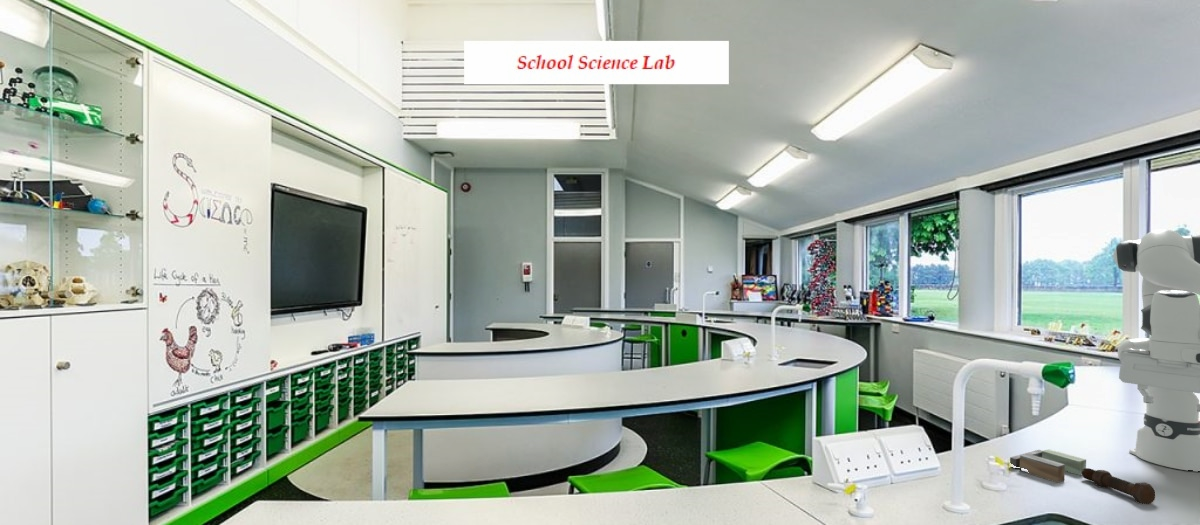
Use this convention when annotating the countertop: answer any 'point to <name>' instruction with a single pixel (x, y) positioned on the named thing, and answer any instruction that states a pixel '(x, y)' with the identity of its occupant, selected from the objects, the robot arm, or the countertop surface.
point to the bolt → (1121, 485)
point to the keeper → (1049, 464)
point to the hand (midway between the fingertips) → (1174, 407)
